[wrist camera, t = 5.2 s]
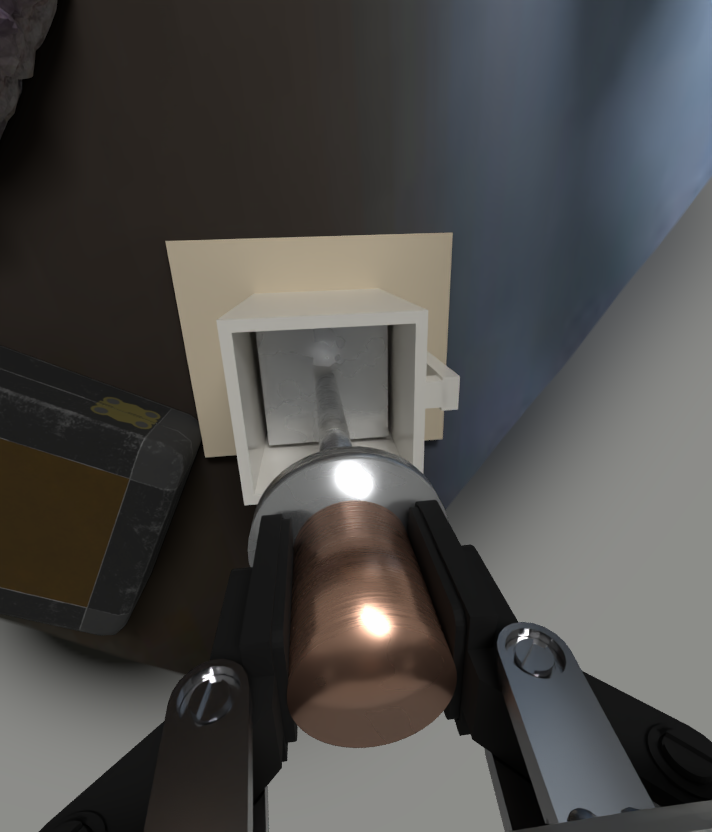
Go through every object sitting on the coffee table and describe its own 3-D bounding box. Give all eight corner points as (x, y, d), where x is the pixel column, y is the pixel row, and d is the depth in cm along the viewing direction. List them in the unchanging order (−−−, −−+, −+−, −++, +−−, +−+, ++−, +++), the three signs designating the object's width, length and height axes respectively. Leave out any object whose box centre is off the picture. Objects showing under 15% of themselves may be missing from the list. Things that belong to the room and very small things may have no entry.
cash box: (-138, 512, 37) (-244, 573, 30) (-114, 300, 31) (-238, 312, 24) (147, 584, 43) (116, 649, 36) (210, 418, 38) (188, 456, 30)
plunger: (385, 315, 26) (616, 487, 7) (386, 432, 29) (547, 787, 10) (255, 321, 25) (91, 535, 6) (269, 441, 28) (191, 845, 9)
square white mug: (447, 233, 34) (558, 215, 19) (438, 434, 40) (515, 536, 26) (170, 241, 32) (51, 228, 17) (208, 451, 38) (146, 574, 24)
